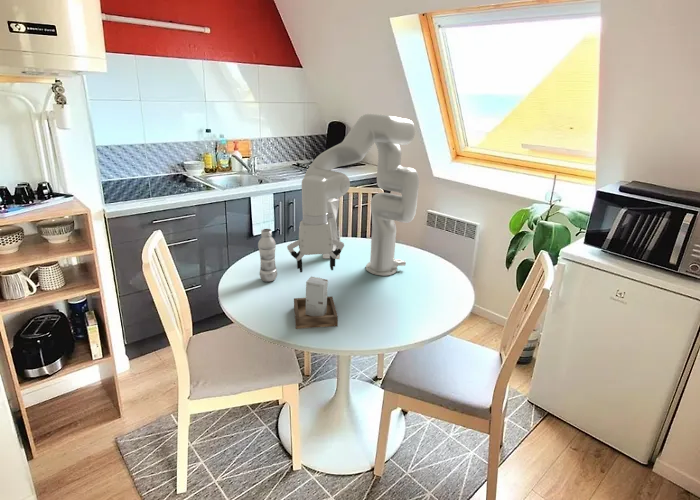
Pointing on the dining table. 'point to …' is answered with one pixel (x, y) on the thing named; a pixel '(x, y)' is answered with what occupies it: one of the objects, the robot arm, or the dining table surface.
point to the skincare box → (316, 296)
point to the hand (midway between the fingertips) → (316, 269)
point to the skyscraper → (333, 223)
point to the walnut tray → (314, 321)
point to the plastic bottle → (267, 256)
